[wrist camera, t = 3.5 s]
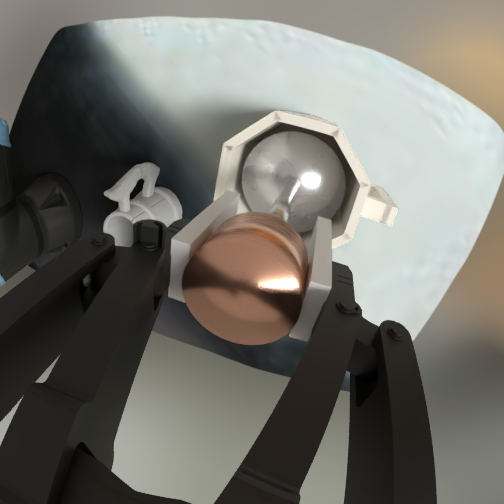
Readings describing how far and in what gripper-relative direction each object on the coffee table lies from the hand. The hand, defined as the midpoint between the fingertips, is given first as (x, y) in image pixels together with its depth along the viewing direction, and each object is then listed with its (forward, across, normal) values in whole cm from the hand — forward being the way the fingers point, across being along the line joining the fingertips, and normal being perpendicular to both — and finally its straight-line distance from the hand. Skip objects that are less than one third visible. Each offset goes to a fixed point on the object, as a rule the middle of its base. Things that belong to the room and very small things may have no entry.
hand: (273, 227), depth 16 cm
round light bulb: (+11, 0, 0) cm, 11 cm away
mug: (+21, -18, -9) cm, 29 cm away
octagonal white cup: (+20, +2, 0) cm, 20 cm away
